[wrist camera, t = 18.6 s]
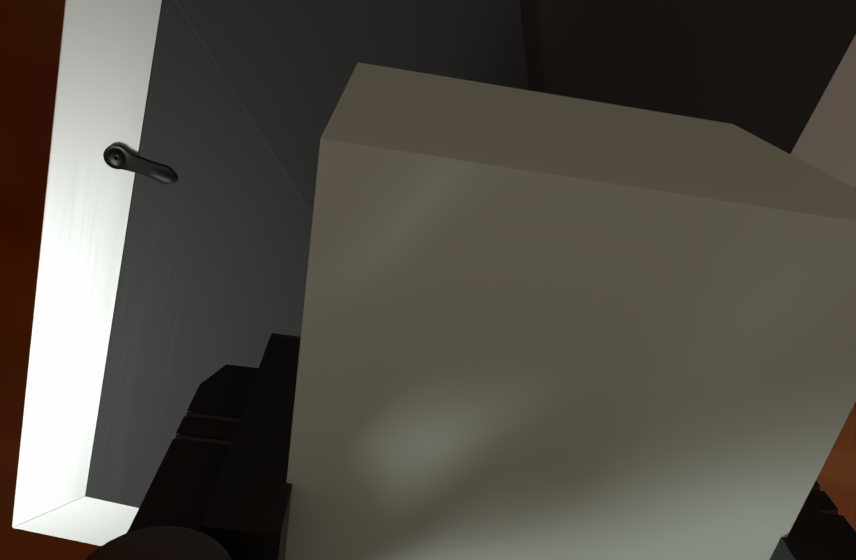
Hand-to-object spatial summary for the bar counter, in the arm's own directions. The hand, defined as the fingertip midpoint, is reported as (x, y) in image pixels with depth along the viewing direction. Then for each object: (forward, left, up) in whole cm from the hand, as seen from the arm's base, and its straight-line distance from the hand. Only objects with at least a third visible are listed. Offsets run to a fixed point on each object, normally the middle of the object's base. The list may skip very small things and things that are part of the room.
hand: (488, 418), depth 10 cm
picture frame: (0, +1, -8) cm, 8 cm away
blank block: (-1, 0, -1) cm, 1 cm away
